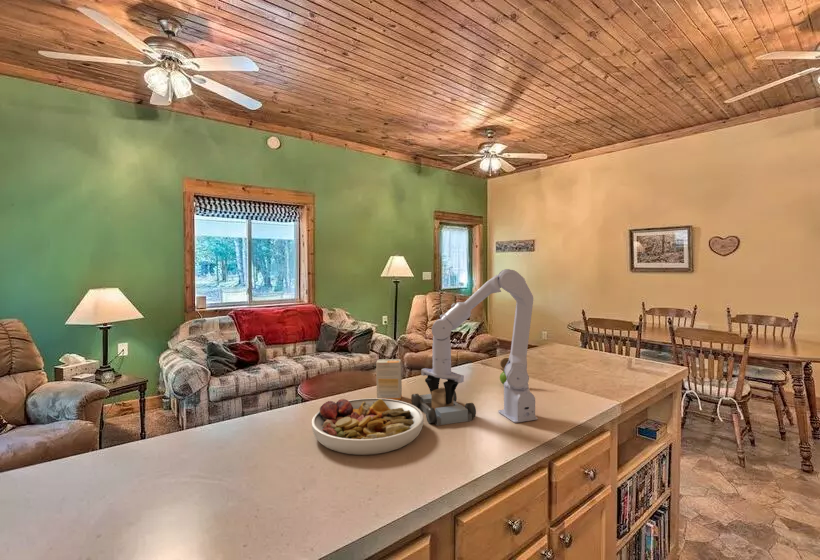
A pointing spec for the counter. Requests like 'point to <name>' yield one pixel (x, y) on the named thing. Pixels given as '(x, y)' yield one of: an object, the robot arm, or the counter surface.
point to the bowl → (366, 425)
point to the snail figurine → (502, 375)
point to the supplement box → (389, 379)
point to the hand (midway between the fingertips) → (442, 401)
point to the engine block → (440, 398)
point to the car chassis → (444, 410)
